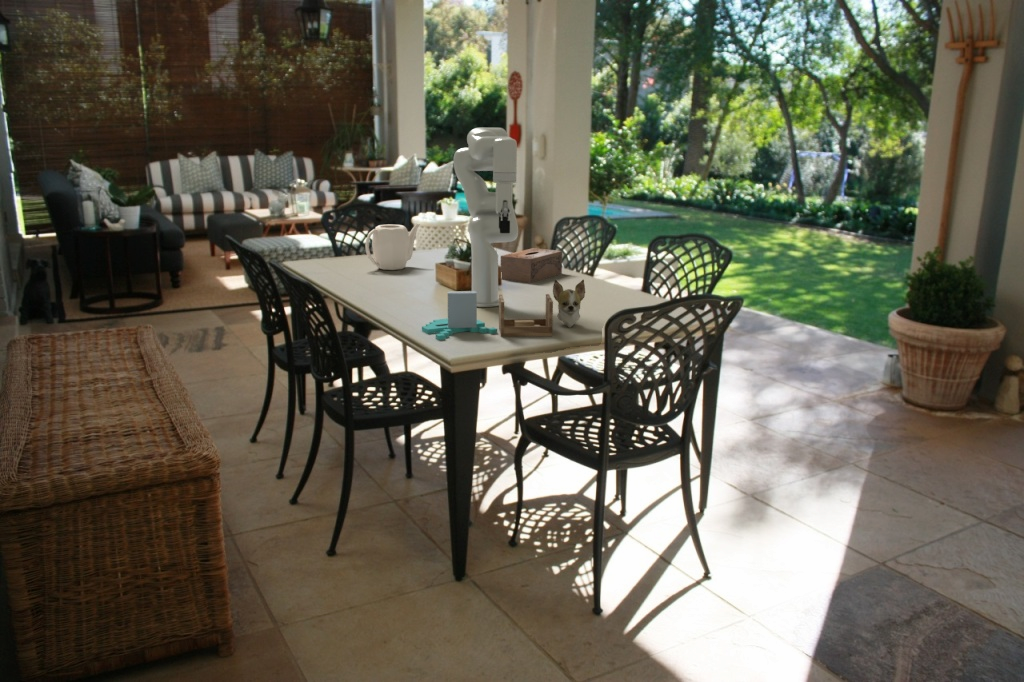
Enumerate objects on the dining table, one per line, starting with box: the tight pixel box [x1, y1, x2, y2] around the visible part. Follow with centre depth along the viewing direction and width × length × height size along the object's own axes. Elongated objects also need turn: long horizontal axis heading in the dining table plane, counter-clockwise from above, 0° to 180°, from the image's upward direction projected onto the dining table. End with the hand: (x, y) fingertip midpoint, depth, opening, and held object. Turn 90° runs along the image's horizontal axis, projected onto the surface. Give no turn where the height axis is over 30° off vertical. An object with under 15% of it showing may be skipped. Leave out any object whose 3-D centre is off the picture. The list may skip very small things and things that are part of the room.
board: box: [447, 290, 478, 328], centre depth 277 cm, size 4×9×11 cm, turn 95°
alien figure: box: [421, 317, 498, 341], centre depth 280 cm, size 20×2×20 cm
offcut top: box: [514, 320, 534, 327], centre depth 275 cm, size 2×6×2 cm, turn 97°
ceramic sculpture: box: [552, 279, 586, 328], centre depth 285 cm, size 11×9×15 cm
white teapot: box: [364, 223, 420, 271], centre depth 385 cm, size 16×27×19 cm, turn 126°
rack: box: [498, 293, 554, 338], centre depth 276 cm, size 11×16×11 cm
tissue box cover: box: [500, 247, 563, 284], centre depth 370 cm, size 26×14×10 cm, turn 147°
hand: (504, 230), depth 287 cm, fingers open, 9 cm apart
